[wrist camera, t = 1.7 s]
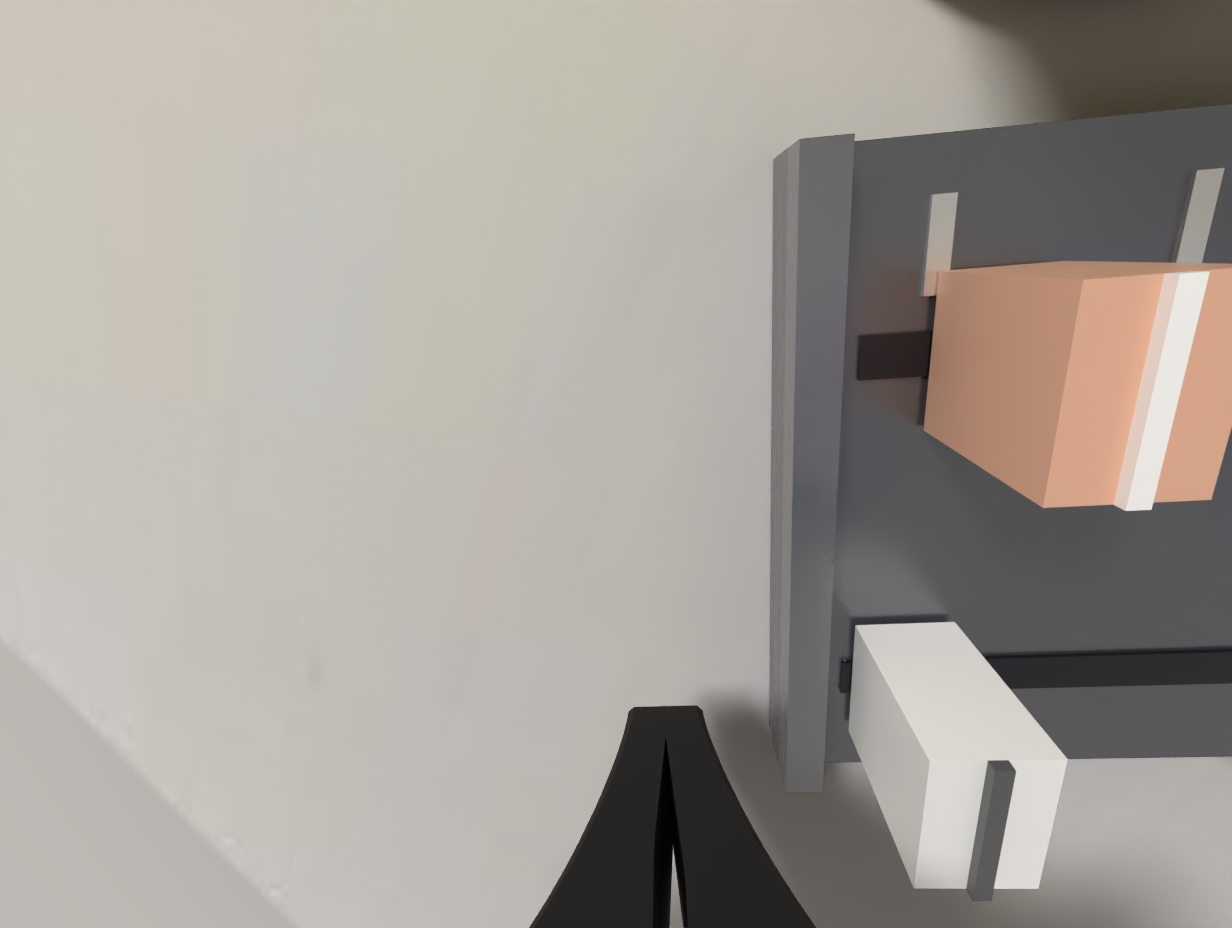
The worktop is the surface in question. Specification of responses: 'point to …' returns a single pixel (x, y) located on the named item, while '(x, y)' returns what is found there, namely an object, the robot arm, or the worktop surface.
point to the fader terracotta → (1086, 378)
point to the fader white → (952, 759)
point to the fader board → (953, 485)
